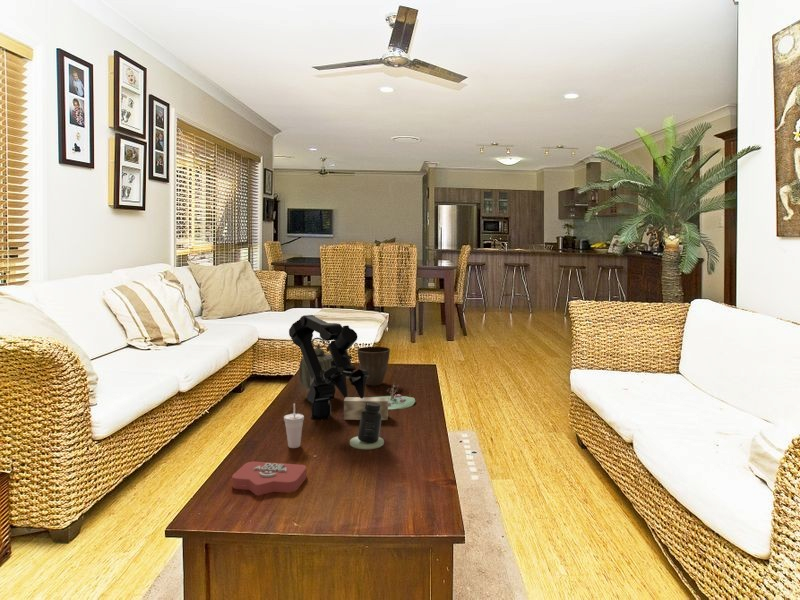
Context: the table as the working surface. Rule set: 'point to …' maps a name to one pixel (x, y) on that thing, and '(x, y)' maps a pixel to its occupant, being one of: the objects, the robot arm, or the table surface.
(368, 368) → the plant pot
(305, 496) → the table surface
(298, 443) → the smoothie
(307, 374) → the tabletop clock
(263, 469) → the plaque
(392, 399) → the decorated green tray
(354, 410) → the block
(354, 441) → the green pad
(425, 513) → the table surface
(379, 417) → the supplement bottle
